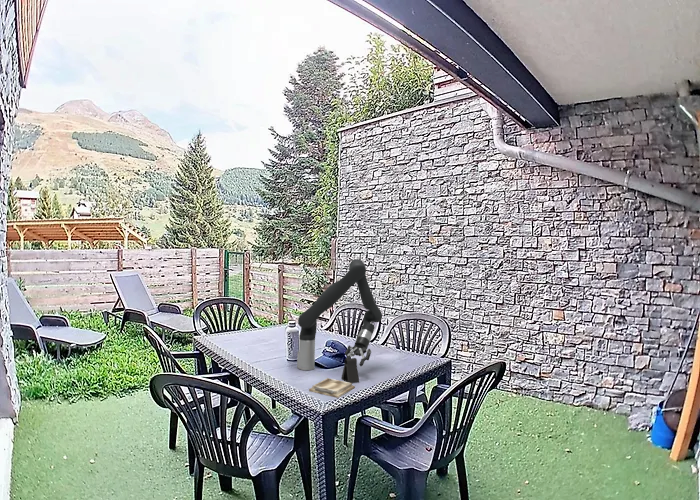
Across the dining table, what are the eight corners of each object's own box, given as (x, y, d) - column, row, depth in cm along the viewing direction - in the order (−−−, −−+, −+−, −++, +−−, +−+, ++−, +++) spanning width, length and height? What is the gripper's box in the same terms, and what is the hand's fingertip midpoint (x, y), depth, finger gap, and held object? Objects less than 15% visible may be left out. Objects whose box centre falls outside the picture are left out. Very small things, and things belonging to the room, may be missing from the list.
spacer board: (308, 391, 227) (309, 386, 227) (326, 381, 242) (327, 377, 242) (338, 397, 219) (338, 392, 219) (354, 387, 233) (355, 383, 233)
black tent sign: (359, 382, 242) (359, 360, 242) (349, 384, 239) (350, 361, 239) (350, 377, 250) (351, 356, 249) (341, 379, 247) (341, 357, 246)
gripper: (350, 334, 258) (339, 358, 248) (373, 337, 251) (362, 362, 241) (354, 341, 262) (344, 365, 253) (376, 344, 256) (367, 370, 246)
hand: (353, 364), depth 247 cm, fingers open, 8 cm apart
